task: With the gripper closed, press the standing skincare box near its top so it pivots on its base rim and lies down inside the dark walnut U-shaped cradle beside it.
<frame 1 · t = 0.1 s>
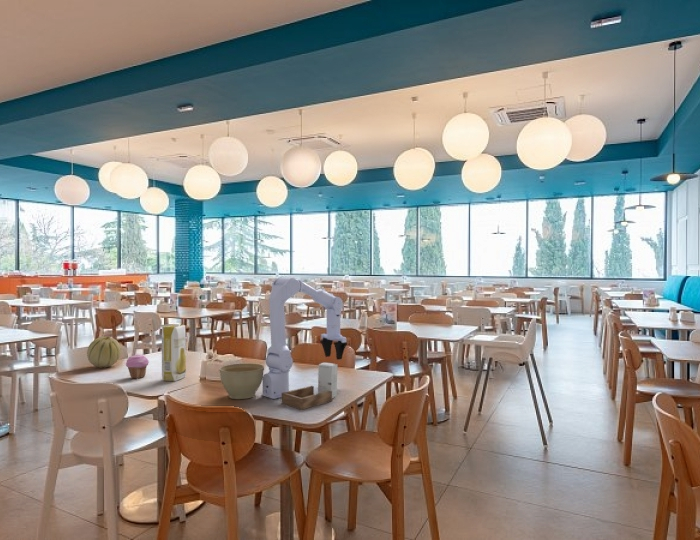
hand: (333, 357, 196), 10 cm above the table, fingers open, 7 cm apart
juice carton: (174, 379, 202), on the table
skincare box: (327, 397, 175), on the table
planter bowl: (242, 396, 175), on the table
walnut cradle: (306, 402, 167), on the table
cantaloupe: (104, 367, 226), on the table
cupcake: (137, 378, 205), on the table
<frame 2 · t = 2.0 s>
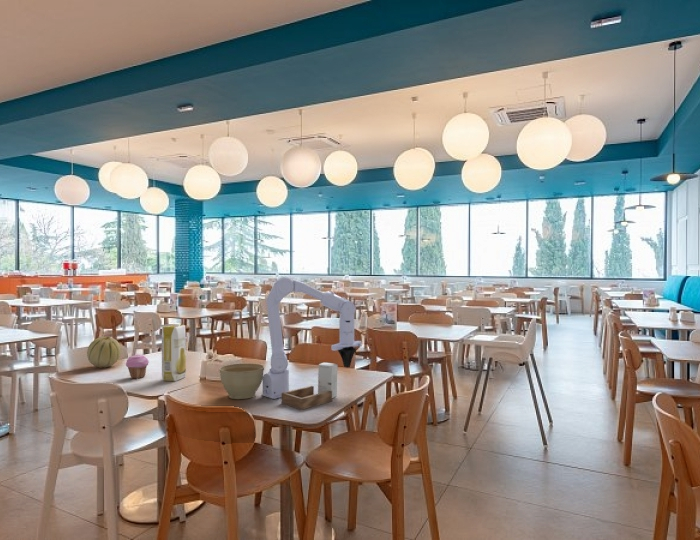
hand: (347, 367, 182), 9 cm above the table, fingers closed
nothing on the table moved.
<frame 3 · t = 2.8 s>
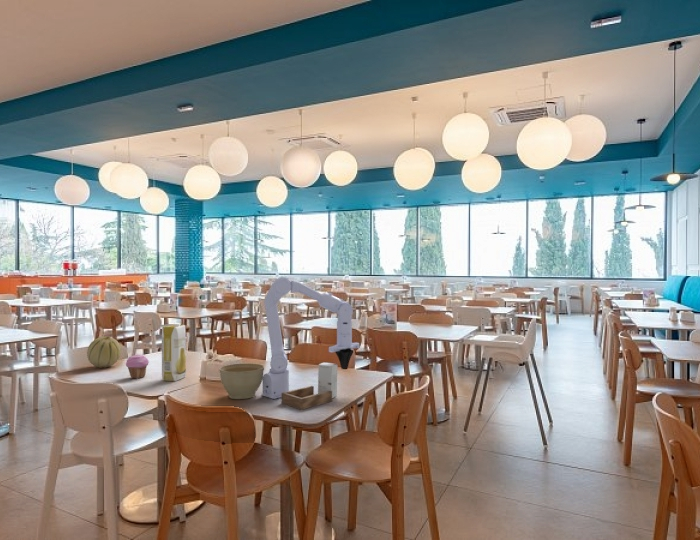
hand: (344, 368, 181), 9 cm above the table, fingers closed
nothing on the table moved.
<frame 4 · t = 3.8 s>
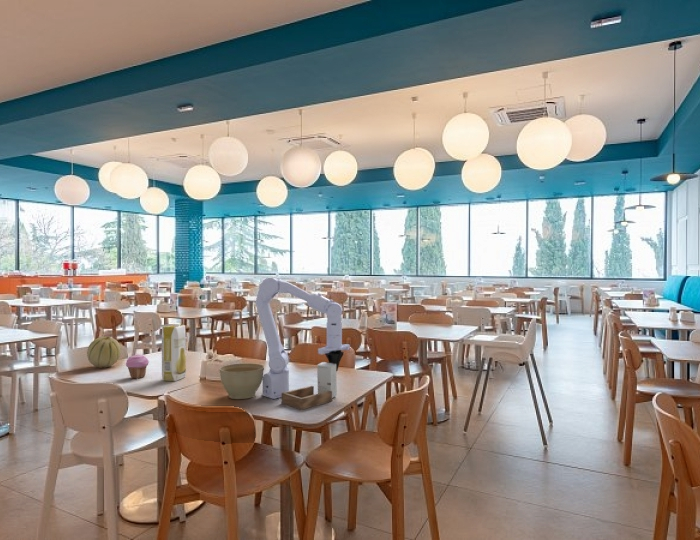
hand: (334, 371, 177), 9 cm above the table, fingers closed
skincare box: (327, 396, 175), on the table, touching gripper
everything else where it was.
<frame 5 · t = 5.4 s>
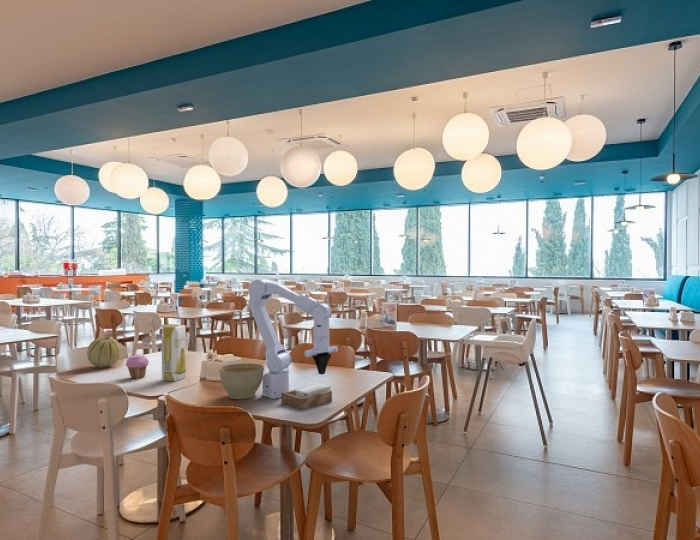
hand: (321, 373, 172), 9 cm above the table, fingers closed
skincare box: (325, 389, 173), point 3 cm above the table, touching walnut cradle
everything else where it was.
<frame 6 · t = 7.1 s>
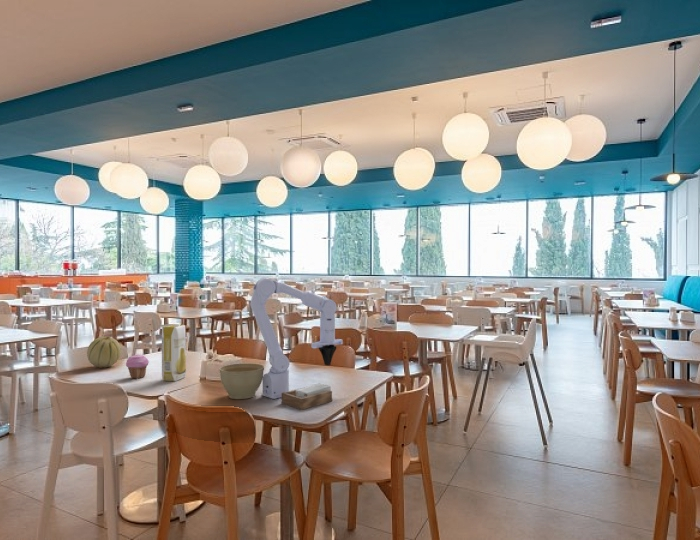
hand: (327, 364, 183), 10 cm above the table, fingers closed
nothing on the table moved.
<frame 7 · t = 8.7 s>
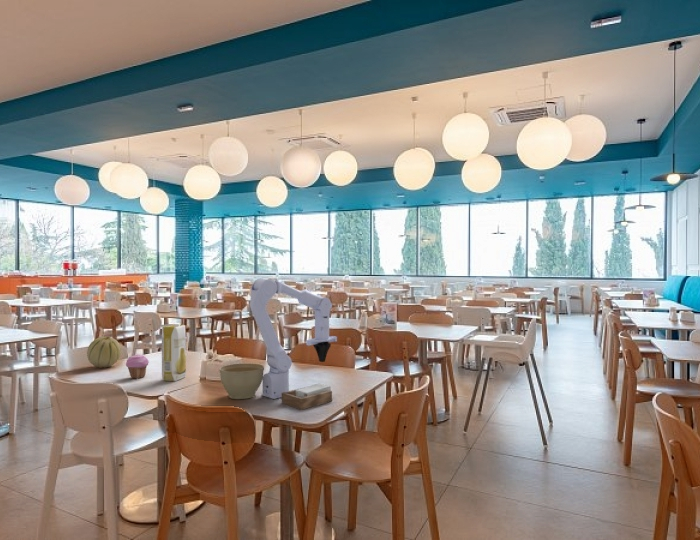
hand: (322, 361, 187), 10 cm above the table, fingers closed
nothing on the table moved.
at the end: skincare box tilted 92°; skincare box inside the target area (5.7 cm from its centre), point 3.0 cm above the table; the gripper is holding nothing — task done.
